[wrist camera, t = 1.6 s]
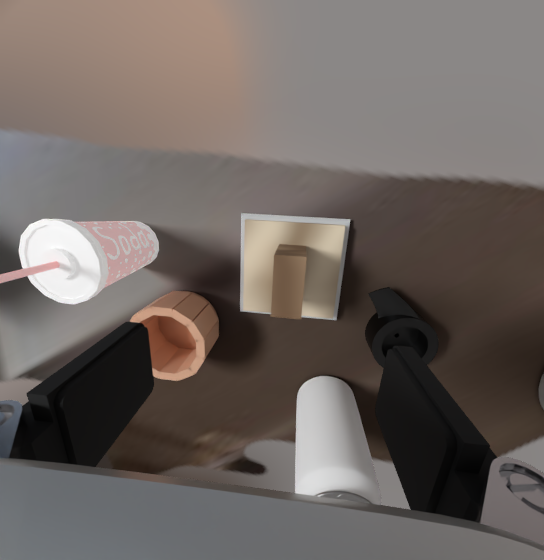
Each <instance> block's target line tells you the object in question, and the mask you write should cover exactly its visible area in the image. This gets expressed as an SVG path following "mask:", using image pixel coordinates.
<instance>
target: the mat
mask: <svg viewBox="0 0 544 560" xmlns="http://www.w3.org/2000/svg"><path fill="white" fill-rule="evenodd" d="M245 219H253V220H270V221H286V222H303V223H320V224H337V225H345V233H344V240H343V248H342V255H341V263H340V270H339V277H338V285H337V292H336V300H335V307H334V315H333V319H331V318H320V317H310V316H301V317H308V318H319V319H330V320H337V312H338V305H339V298H340V291H341V284H342V276H343V269H344V262H345V255H346V248H347V240H348V233H349V226H350V219H335V218H318V217H300V216H283V215H266V214H248V213H241V280H240V311H243V312H254V313H265V314H271V313H266V312H255V311H244V310H243V291H244V234H245Z"/></svg>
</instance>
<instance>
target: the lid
mask: <svg viewBox="0 0 544 560" xmlns="http://www.w3.org/2000/svg"><path fill="white" fill-rule="evenodd" d="M344 233H345V225H337V224H320V223H303V222H286V221H270V220H253V219H245V234H244V291H243V310H244V311H255V312H266V313H271V317H281V318H291V319H301V316H310V317H320V318H331V319H333V315H334V307H335V300H336V292H337V285H338V277H339V270H340V263H341V255H342V248H343V240H344Z"/></svg>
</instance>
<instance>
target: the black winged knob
mask: <svg viewBox="0 0 544 560" xmlns="http://www.w3.org/2000/svg"><path fill="white" fill-rule="evenodd" d="M369 296H370V298H371V299H372V301H373V303H374V305H375V308H376V311H377V313H376V314H375V315H373V316H372V318H371V319H370V320H369V322H368V324H367V326H366V330H365V337H366V341H367V343H368V345H369V347H370V349H371V351H372V354H373V356H374V358H375V360H376V361H377V362H378V364H379V365H381V366H382V367H383V368H384V365H385V360H386V356H387V352H388V350H389V349H392V348H393V347H394V346H395V345H396V346H407V347H412V348H413V349H414V350H415V351H416V353H417V354H418V355H419V356H420V358H421V359H422V360H423V362H424V363H425V364H426V365H427V364H429V363H430V362H431V361H432V359H433V358H434V356H435V355H436V353H437V350H438V337H437V334H436V332H435V331H434V329H433V328H432V327H431V326H430V325H429V324H428V323H427V322H426V321H425V320H424V319H423V318H422V317H421V316H420V315H419V314H417V313H416V312H415V311H414V310H413V309H412V308H411V307H410V306H409V305H408V304H407V303H406V302H405V301H404V300H403V299H402V298H401V297H400V296H398V295H397V294H396V293H395V292H394V291H393V290H392V289H390V288H389V287H387V288H383V289H379V290H376V291H374V292H371V293H369Z"/></svg>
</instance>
